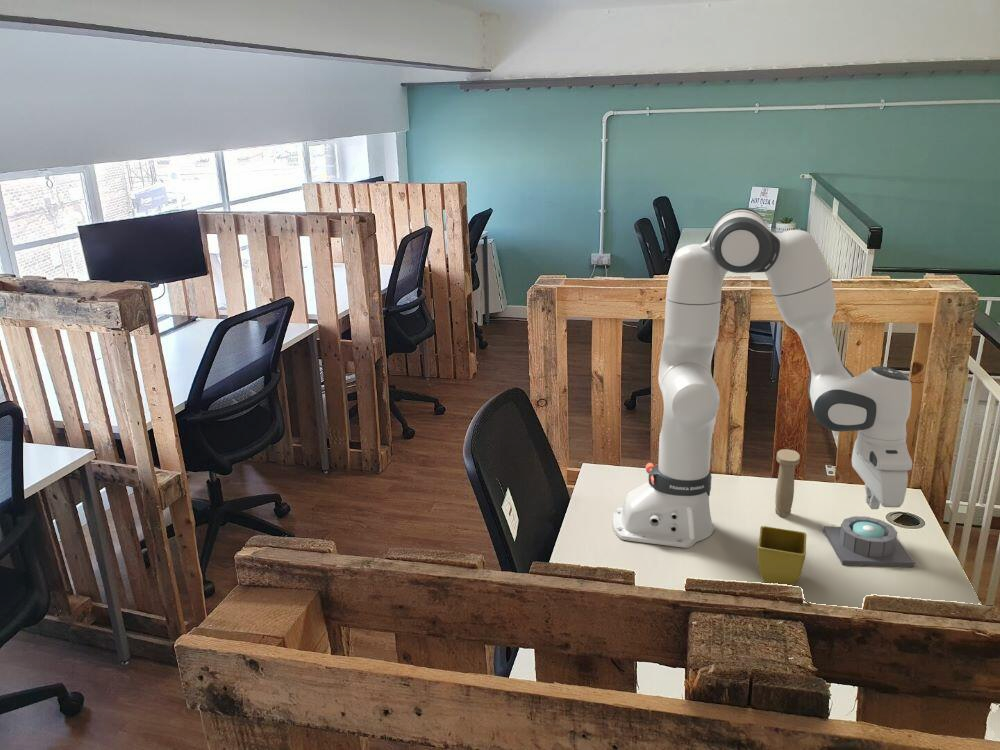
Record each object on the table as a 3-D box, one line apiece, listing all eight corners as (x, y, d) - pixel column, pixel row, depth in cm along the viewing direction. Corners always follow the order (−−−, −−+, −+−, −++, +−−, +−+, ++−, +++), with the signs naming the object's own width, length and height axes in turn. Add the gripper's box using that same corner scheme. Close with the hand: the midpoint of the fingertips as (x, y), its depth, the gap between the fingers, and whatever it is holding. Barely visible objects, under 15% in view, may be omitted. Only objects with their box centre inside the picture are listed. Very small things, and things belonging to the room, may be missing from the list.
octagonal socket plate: (842, 564, 158) (844, 545, 157) (822, 530, 172) (824, 511, 170) (914, 566, 157) (917, 547, 155) (888, 531, 170) (891, 513, 169)
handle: (771, 519, 177) (776, 459, 172) (772, 506, 183) (777, 448, 178) (793, 522, 175) (799, 462, 171) (793, 509, 181) (799, 450, 176)
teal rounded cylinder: (856, 550, 161) (858, 535, 160) (847, 536, 167) (849, 520, 166) (886, 551, 161) (889, 535, 159) (876, 536, 166) (878, 521, 165)
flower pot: (801, 595, 149) (805, 554, 146) (754, 587, 152) (757, 546, 149) (802, 571, 157) (806, 532, 154) (757, 563, 160) (760, 525, 157)
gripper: (847, 425, 167) (841, 483, 171) (881, 466, 148) (873, 530, 152) (878, 426, 166) (870, 483, 170) (916, 466, 147) (906, 530, 151)
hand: (872, 506), depth 161 cm, fingers closed
